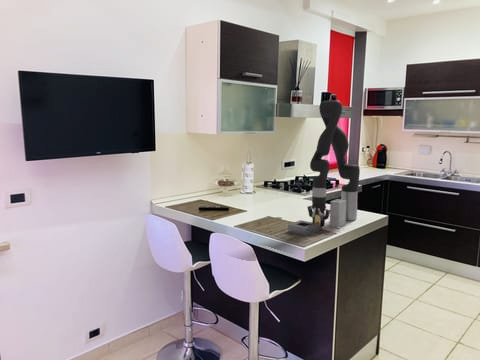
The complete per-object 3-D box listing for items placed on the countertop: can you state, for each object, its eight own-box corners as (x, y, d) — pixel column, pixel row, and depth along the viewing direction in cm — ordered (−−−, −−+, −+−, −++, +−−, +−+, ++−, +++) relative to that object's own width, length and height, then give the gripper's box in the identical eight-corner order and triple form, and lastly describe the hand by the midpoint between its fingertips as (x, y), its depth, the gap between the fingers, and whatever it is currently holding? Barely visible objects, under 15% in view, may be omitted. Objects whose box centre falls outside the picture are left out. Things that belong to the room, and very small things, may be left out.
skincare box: (336, 223, 223) (337, 198, 221) (346, 225, 219) (346, 199, 217) (329, 226, 217) (329, 200, 215) (338, 228, 213) (339, 202, 211)
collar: (300, 227, 216) (300, 220, 216) (319, 231, 208) (319, 224, 207) (287, 231, 208) (287, 224, 207) (306, 236, 200) (306, 228, 199)
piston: (317, 227, 216) (317, 212, 215) (324, 228, 213) (324, 214, 212) (312, 228, 213) (313, 214, 212) (319, 230, 210) (320, 215, 209)
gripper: (334, 196, 208) (333, 226, 210) (311, 192, 218) (311, 221, 220) (326, 198, 202) (326, 229, 205) (304, 194, 212) (303, 224, 215)
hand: (318, 225), depth 213 cm, fingers closed on piston, 4 cm apart
